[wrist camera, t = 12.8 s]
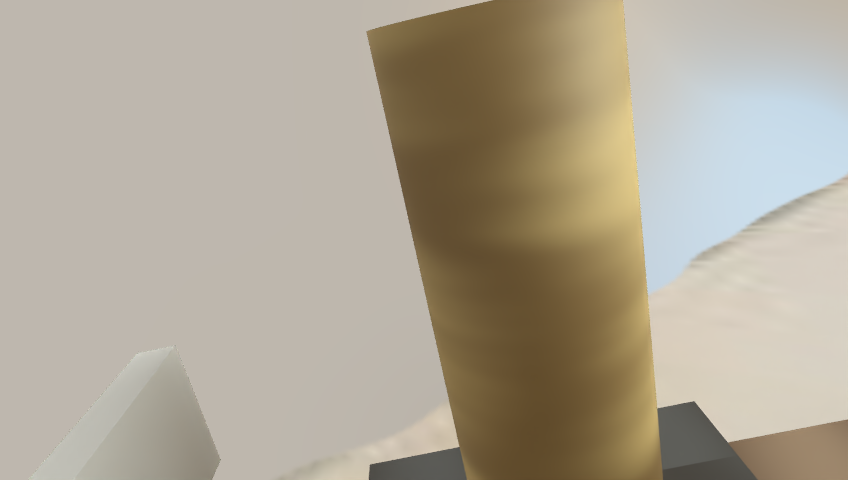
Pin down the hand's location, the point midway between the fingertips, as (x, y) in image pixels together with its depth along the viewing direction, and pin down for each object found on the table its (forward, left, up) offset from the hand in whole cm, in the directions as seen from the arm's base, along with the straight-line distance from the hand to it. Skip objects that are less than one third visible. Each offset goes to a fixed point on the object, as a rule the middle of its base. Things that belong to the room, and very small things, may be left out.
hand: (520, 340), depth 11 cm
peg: (0, 0, -10) cm, 10 cm away
